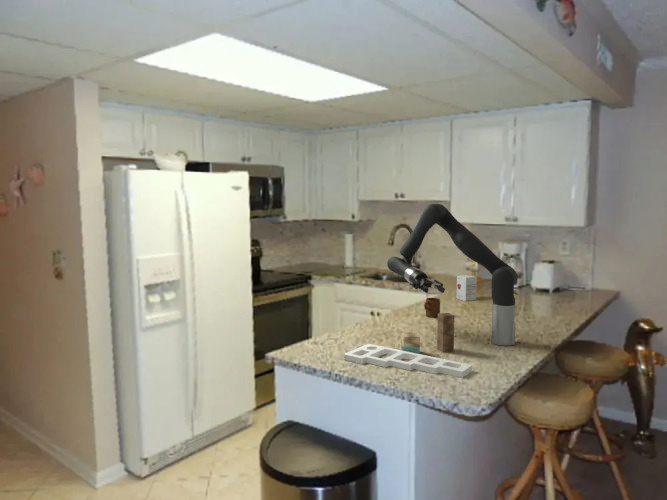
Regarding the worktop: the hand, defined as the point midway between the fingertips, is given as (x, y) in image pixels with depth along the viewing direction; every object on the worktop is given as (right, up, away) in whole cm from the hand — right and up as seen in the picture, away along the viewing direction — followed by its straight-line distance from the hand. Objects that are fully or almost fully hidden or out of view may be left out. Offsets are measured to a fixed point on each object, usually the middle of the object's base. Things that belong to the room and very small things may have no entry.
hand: (435, 290), depth 211 cm
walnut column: (+2, -24, -8) cm, 25 cm away
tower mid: (-13, -21, -12) cm, 27 cm away
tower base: (-13, -25, -12) cm, 30 cm away
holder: (-17, -26, -26) cm, 41 cm away
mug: (+8, -19, +52) cm, 56 cm away
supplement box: (+40, -14, +100) cm, 109 cm away
